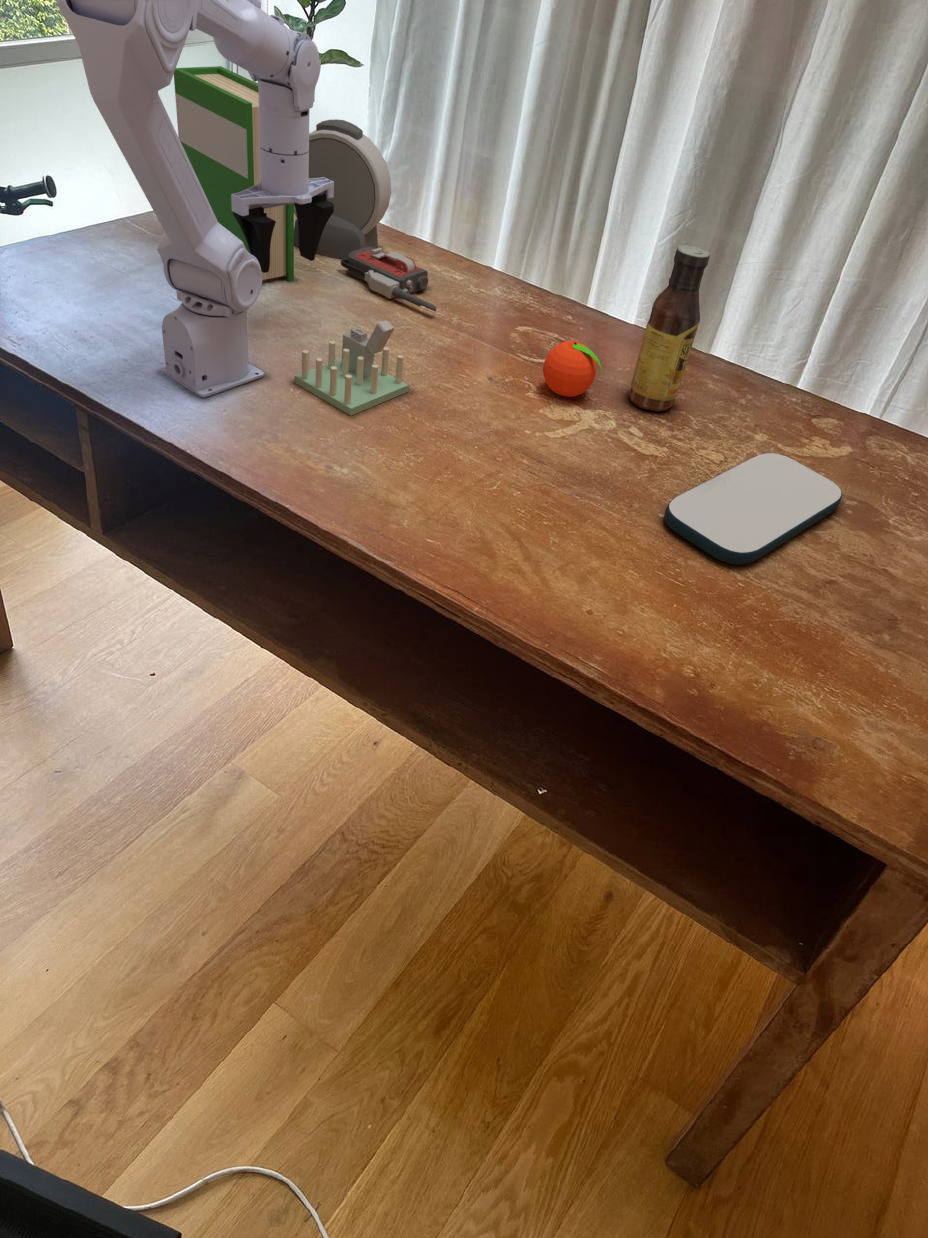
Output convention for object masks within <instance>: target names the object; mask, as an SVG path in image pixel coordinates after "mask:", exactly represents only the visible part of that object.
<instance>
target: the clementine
mask: <svg viewBox="0 0 928 1238" xmlns="http://www.w3.org/2000/svg"><path fill="white" fill-rule="evenodd" d="M597 365H598V366H597ZM598 367H599V369H600V374H601V375H603V373H602V372H603V371H602V370H603V369H602V364H601V362H600V359H599V358H598V357H597V355H596V354H595V353H594V351H593V350H591V349H590V348H589V347H588V346H587V345H585V344H584V343H582V342H579V341H576V340H568V341H564V342H560V343H558V344H556V345H555V346H553V348H551V349H550V350H549V351H548V353H547V354H546V356H545V359H544V362H543V366H542V374H543V377H544V381H545V384H546V385H547V386H548V388H549V389H550V390H551V391H553V392H554V393H555V394H557V395H559V396H561V397H569V398H571V397H575V396H579V395H582V394H583V393H585V392H586V391H587V390H588V389H589V388H590V387H591V386H592V385H593V383H594V381H595V379H596V376H597V368H598Z"/></svg>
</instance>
